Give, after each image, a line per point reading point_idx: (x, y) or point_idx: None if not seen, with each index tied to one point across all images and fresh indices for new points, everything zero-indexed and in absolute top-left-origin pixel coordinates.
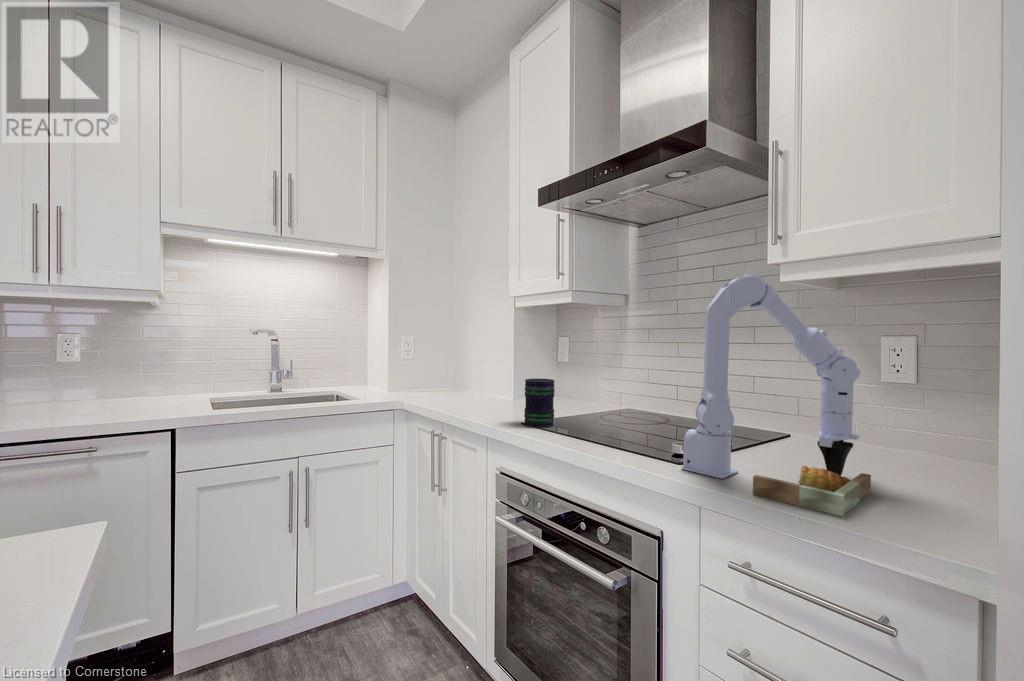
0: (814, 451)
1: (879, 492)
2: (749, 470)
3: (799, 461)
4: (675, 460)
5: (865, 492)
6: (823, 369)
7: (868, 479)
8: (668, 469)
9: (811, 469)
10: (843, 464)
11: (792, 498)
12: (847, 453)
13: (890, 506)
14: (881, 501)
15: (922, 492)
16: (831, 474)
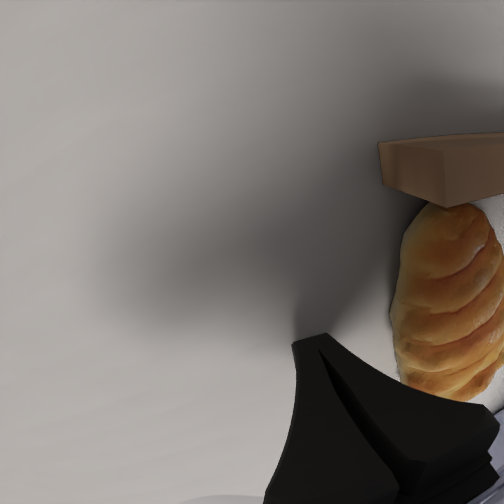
0: (10, 483)
1: (328, 115)
2: None
3: (148, 491)
4: None
5: (466, 136)
6: None
7: (469, 144)
8: None
9: (481, 366)
10: (327, 377)
11: None
12: (335, 436)
13: (475, 39)
14: (455, 71)
15: (88, 11)
16: (498, 293)
